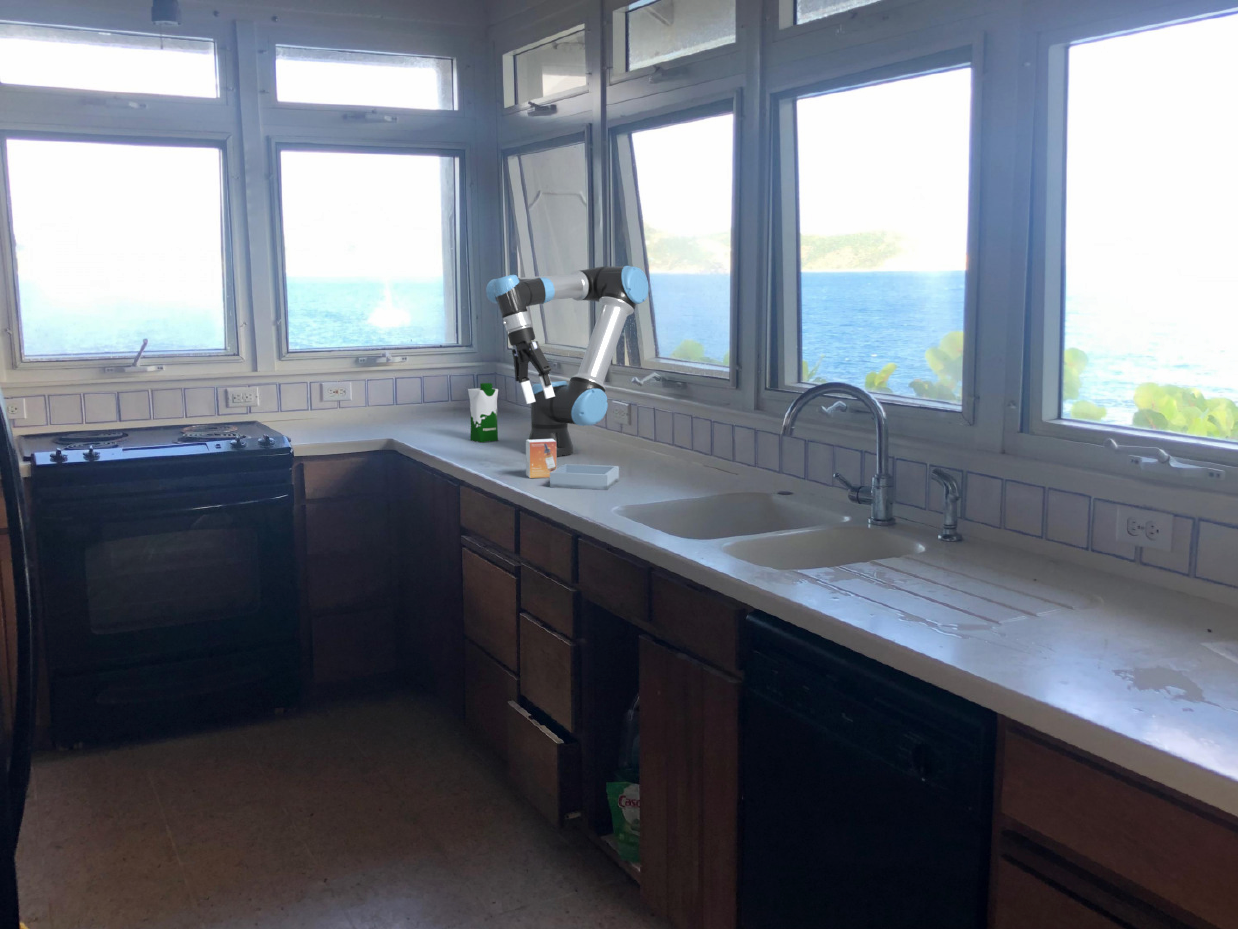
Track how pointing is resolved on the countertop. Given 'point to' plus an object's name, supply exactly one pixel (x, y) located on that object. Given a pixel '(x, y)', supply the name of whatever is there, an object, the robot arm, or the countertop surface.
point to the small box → (540, 458)
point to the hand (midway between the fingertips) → (540, 400)
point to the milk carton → (483, 413)
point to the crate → (584, 476)
